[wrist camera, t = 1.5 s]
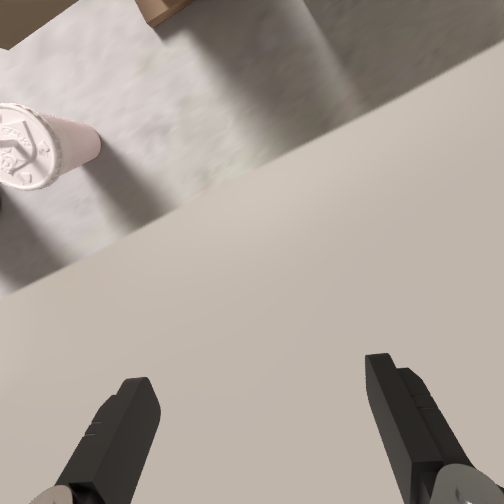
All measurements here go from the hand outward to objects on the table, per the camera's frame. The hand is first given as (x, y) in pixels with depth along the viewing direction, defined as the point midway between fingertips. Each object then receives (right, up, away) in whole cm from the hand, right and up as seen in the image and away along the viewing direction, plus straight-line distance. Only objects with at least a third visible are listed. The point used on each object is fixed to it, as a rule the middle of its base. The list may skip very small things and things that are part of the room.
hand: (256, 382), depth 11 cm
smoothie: (-18, +16, +21) cm, 32 cm away
